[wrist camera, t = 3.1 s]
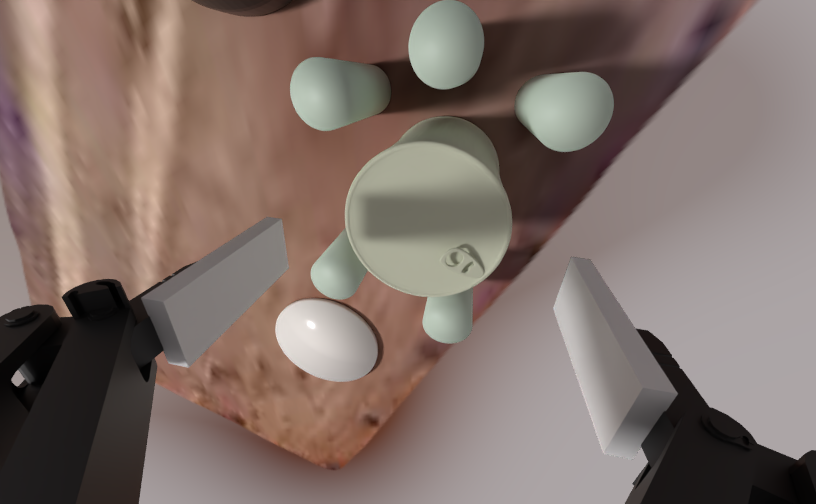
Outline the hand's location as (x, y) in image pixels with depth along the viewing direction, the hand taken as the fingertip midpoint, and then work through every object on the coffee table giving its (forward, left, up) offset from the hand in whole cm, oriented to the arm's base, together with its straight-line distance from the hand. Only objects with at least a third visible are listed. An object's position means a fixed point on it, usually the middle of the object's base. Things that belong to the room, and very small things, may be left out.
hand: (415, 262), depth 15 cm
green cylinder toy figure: (0, 0, -15) cm, 15 cm away
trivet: (-12, -22, -15) cm, 29 cm away
